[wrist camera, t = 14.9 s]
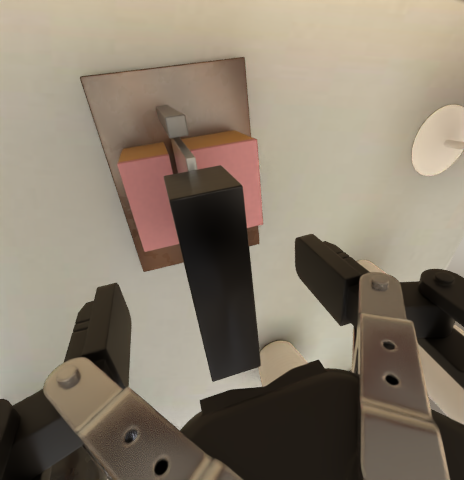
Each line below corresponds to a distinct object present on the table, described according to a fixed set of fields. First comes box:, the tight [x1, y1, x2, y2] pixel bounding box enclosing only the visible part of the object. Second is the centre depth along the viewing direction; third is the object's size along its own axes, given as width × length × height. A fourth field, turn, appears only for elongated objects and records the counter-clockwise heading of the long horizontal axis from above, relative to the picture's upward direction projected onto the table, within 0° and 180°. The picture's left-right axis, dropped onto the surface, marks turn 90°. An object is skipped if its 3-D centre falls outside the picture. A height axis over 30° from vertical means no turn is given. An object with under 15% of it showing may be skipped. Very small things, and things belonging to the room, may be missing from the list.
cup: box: [258, 341, 308, 387], centre depth 39 cm, size 10×10×11 cm
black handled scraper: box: [164, 137, 261, 382], centre depth 16 cm, size 2×10×11 cm, turn 7°
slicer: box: [80, 57, 259, 272], centre depth 22 cm, size 13×18×13 cm
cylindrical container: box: [356, 260, 464, 425], centre depth 31 cm, size 7×7×25 cm
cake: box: [117, 130, 263, 252], centre depth 24 cm, size 10×7×6 cm
